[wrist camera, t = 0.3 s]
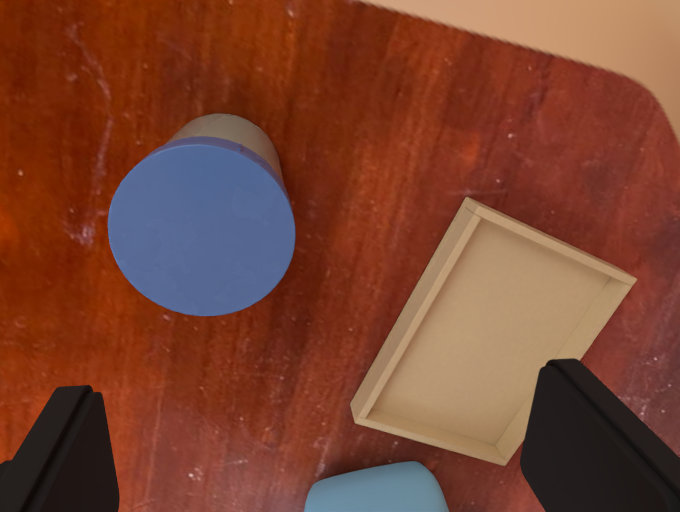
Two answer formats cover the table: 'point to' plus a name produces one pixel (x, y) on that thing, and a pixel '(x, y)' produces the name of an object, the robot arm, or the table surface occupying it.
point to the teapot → (379, 491)
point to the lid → (202, 226)
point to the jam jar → (233, 135)
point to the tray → (485, 334)
